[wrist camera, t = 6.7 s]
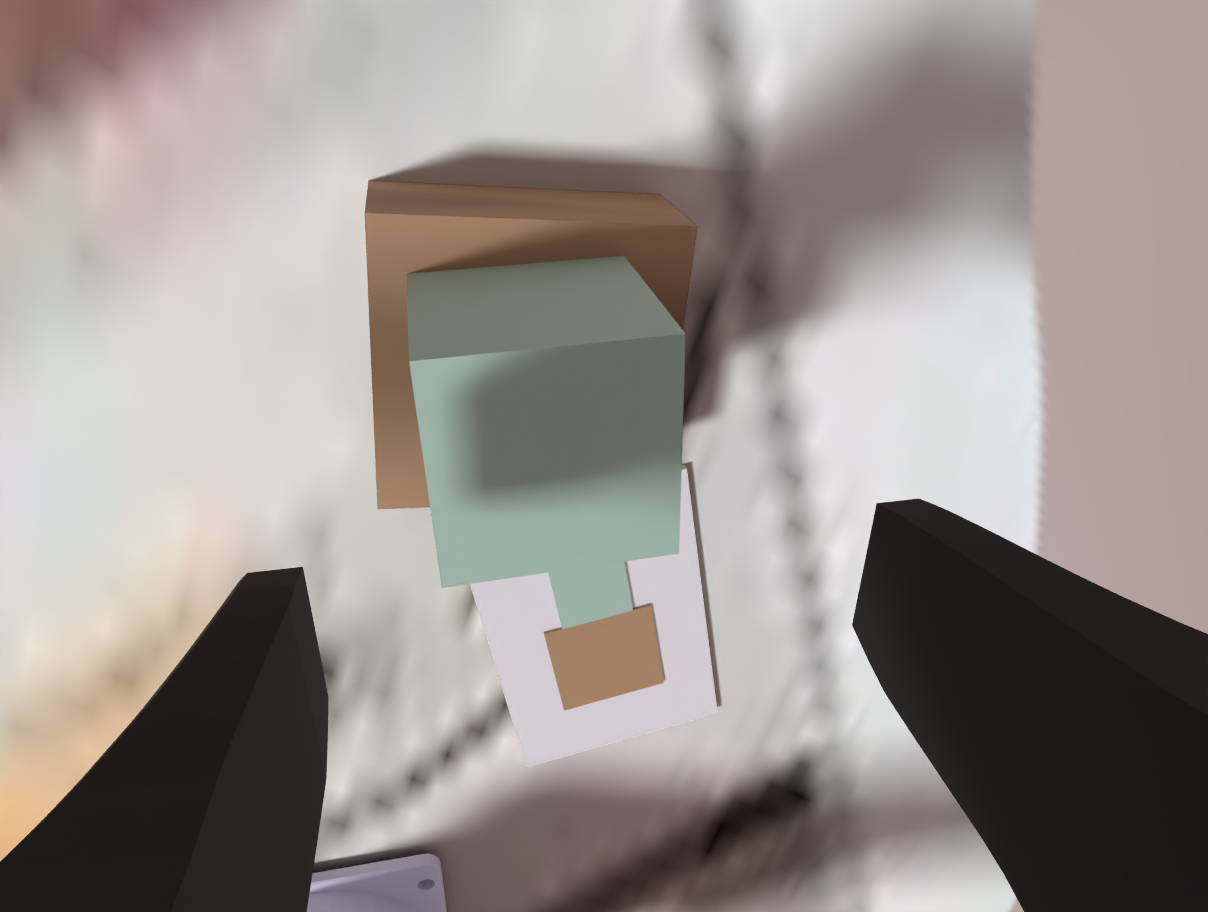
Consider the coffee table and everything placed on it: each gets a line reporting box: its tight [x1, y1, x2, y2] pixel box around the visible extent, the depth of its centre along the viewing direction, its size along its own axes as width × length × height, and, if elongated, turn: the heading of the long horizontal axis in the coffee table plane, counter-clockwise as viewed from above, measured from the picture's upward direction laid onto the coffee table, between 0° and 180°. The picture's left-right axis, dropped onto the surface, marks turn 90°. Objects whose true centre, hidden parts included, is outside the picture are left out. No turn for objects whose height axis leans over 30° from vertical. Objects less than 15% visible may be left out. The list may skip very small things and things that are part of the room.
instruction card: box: [470, 465, 718, 768], centre depth 24 cm, size 9×6×1 cm, turn 10°
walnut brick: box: [365, 181, 697, 509], centre depth 18 cm, size 6×6×3 cm
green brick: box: [406, 256, 686, 588], centre depth 15 cm, size 4×4×4 cm
